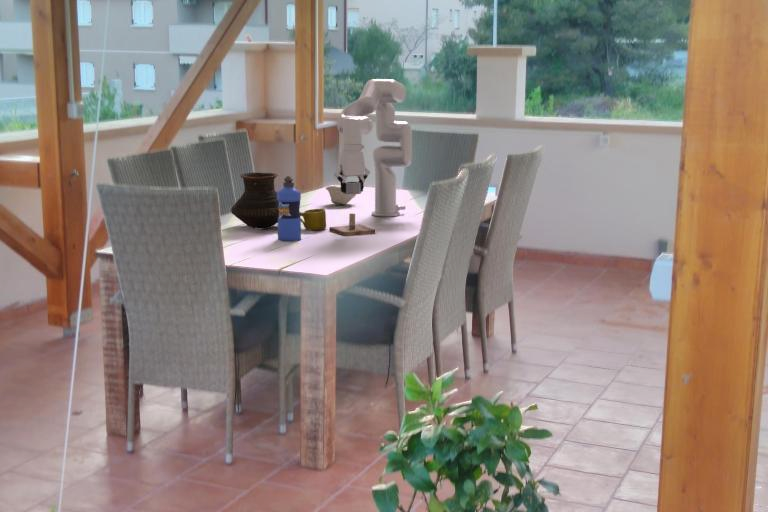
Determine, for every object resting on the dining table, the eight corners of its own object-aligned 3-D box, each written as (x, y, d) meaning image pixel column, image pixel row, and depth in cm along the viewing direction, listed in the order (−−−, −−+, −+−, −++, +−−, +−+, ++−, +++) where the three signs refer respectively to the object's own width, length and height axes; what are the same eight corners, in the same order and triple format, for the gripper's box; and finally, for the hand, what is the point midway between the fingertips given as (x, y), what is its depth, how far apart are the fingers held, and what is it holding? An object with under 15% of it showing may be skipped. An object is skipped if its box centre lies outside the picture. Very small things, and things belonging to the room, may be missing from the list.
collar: (355, 191, 431) (355, 181, 430) (363, 193, 425) (363, 182, 424) (340, 192, 428) (340, 182, 427) (348, 194, 422) (348, 183, 421)
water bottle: (291, 242, 406) (290, 178, 401) (272, 240, 411) (271, 177, 406) (305, 238, 414) (305, 176, 409) (287, 236, 418) (286, 174, 413)
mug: (333, 223, 439) (326, 202, 435) (325, 234, 431) (317, 213, 427) (308, 226, 444) (300, 206, 440) (299, 238, 436) (291, 216, 432)
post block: (359, 228, 439) (359, 210, 438) (375, 233, 427) (375, 215, 426) (329, 230, 432) (329, 212, 431) (344, 235, 420) (344, 217, 419)
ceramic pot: (219, 229, 435) (218, 175, 431) (254, 220, 456) (253, 169, 452) (267, 234, 424) (266, 179, 419) (301, 225, 445) (300, 173, 440)
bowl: (362, 204, 506) (362, 183, 504) (345, 208, 494) (345, 187, 492) (336, 201, 514) (336, 181, 512) (320, 205, 502) (319, 184, 500)
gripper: (366, 146, 430) (366, 189, 434) (328, 148, 422) (328, 191, 425) (375, 148, 424) (375, 191, 427) (337, 149, 416) (337, 194, 419)
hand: (352, 191), depth 426 cm, fingers closed on collar, 7 cm apart
